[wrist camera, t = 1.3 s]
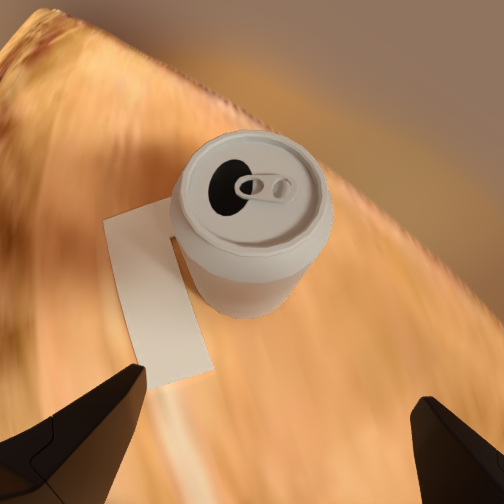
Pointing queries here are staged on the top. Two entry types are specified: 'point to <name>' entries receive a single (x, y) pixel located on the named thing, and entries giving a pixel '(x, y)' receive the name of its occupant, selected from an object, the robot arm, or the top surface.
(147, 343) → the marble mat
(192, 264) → the can
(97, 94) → the top surface
